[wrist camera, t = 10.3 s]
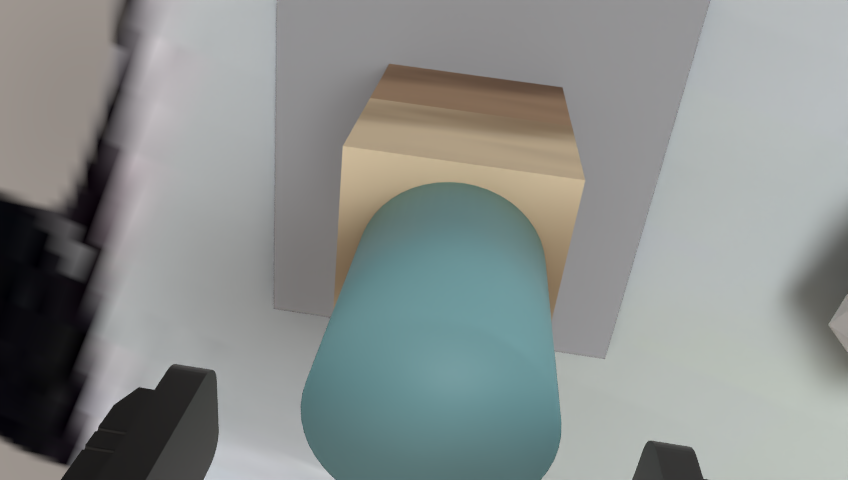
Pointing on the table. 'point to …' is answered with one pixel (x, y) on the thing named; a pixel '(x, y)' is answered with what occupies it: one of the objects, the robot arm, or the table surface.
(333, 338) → the teal cylinder
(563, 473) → the table surface
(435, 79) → the walnut block
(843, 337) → the die
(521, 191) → the oak block
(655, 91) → the slate mat
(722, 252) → the table surface
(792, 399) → the table surface
